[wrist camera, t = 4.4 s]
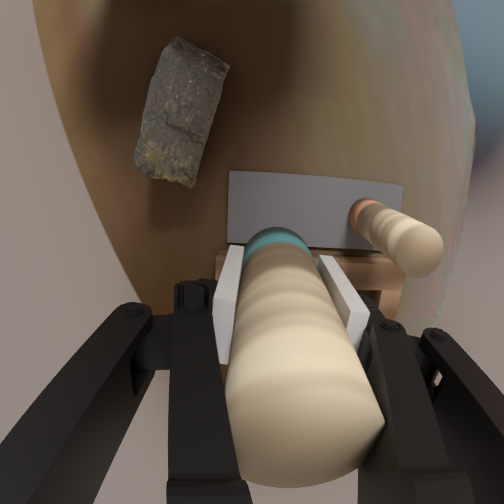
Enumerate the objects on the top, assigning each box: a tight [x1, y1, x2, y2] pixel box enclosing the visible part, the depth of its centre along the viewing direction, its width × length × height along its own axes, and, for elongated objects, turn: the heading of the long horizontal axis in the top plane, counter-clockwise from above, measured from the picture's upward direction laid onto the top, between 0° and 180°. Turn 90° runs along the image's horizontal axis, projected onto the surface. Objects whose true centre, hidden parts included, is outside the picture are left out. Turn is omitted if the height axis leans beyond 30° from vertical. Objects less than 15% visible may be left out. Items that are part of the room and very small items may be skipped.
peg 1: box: [224, 227, 385, 488], centre depth 13 cm, size 4×4×14 cm
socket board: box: [215, 250, 405, 321], centre depth 37 cm, size 12×22×3 cm, turn 87°
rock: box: [133, 35, 230, 188], centre depth 29 cm, size 17×7×10 cm
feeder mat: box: [227, 171, 403, 251], centre depth 34 cm, size 8×20×1 cm, turn 87°
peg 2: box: [348, 198, 443, 278], centre depth 28 cm, size 4×4×14 cm
